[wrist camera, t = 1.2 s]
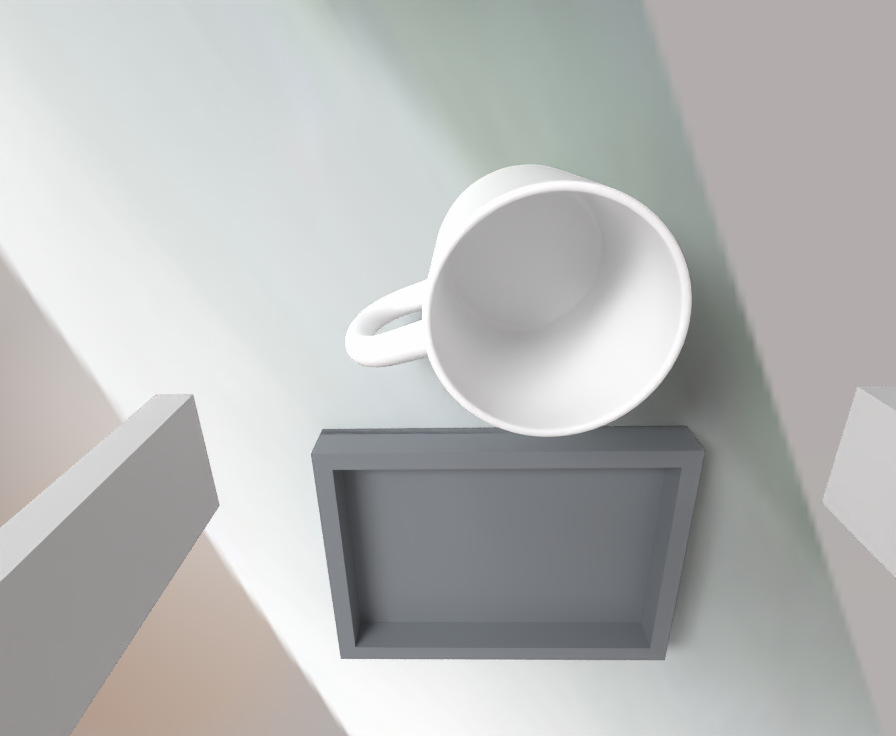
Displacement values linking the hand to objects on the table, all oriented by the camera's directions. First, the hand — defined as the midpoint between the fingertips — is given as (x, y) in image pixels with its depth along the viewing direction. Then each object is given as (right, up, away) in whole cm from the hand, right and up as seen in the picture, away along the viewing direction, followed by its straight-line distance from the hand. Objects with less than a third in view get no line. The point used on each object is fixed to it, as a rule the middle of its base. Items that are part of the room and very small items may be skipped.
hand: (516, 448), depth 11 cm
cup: (0, +7, +15) cm, 17 cm away
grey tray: (+2, -9, +22) cm, 23 cm away
